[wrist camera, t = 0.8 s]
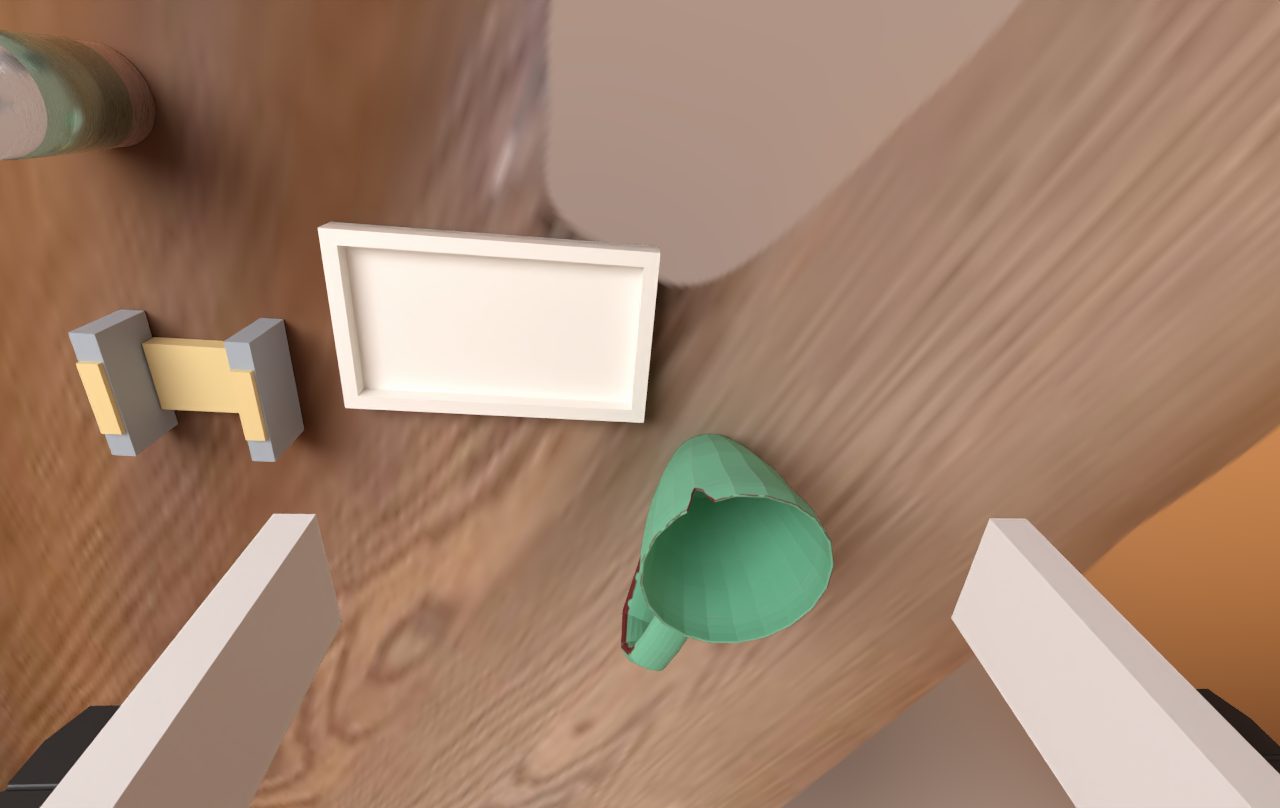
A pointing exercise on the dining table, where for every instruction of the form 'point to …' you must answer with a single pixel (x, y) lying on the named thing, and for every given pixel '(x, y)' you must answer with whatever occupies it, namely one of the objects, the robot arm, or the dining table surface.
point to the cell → (68, 97)
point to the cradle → (187, 382)
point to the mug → (722, 554)
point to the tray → (490, 322)
